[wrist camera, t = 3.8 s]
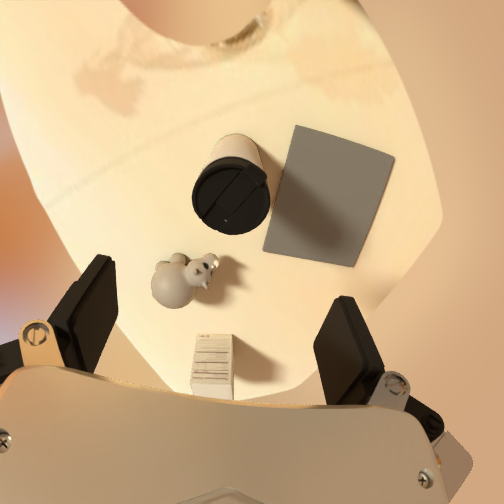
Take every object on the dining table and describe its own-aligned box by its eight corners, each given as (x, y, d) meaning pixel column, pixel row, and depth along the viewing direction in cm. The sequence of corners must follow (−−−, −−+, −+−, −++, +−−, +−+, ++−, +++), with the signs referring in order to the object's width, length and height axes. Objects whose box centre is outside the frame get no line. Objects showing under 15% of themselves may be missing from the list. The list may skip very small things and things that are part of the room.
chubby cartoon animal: (232, 265, 48) (231, 297, 41) (174, 291, 51) (164, 323, 43) (210, 230, 45) (204, 258, 38) (150, 260, 47) (136, 290, 40)
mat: (295, 124, 37) (296, 125, 37) (392, 156, 39) (394, 157, 39) (262, 248, 47) (262, 251, 46) (351, 264, 49) (352, 267, 48)
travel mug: (269, 150, 39) (291, 195, 22) (239, 184, 41) (237, 254, 24) (234, 122, 37) (225, 143, 20) (204, 158, 39) (173, 211, 22)
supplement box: (234, 356, 60) (234, 406, 49) (200, 356, 60) (194, 404, 49) (233, 333, 56) (232, 385, 45) (196, 332, 56) (188, 383, 45)
